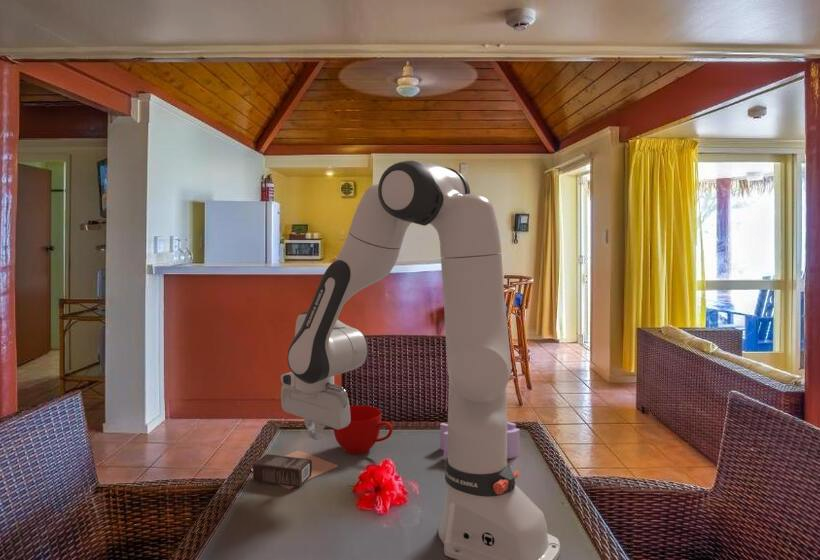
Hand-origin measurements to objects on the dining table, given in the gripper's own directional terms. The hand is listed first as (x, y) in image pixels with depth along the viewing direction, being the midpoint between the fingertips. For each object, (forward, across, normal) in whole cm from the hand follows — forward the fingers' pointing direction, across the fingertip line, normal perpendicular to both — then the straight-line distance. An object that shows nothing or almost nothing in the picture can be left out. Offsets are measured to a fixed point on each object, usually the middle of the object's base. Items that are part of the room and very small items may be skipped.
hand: (315, 438), depth 122 cm
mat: (+10, +8, -1) cm, 13 cm away
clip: (+10, -21, -38) cm, 44 cm away
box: (+8, 0, +2) cm, 8 cm away
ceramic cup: (+10, +3, -19) cm, 22 cm away
